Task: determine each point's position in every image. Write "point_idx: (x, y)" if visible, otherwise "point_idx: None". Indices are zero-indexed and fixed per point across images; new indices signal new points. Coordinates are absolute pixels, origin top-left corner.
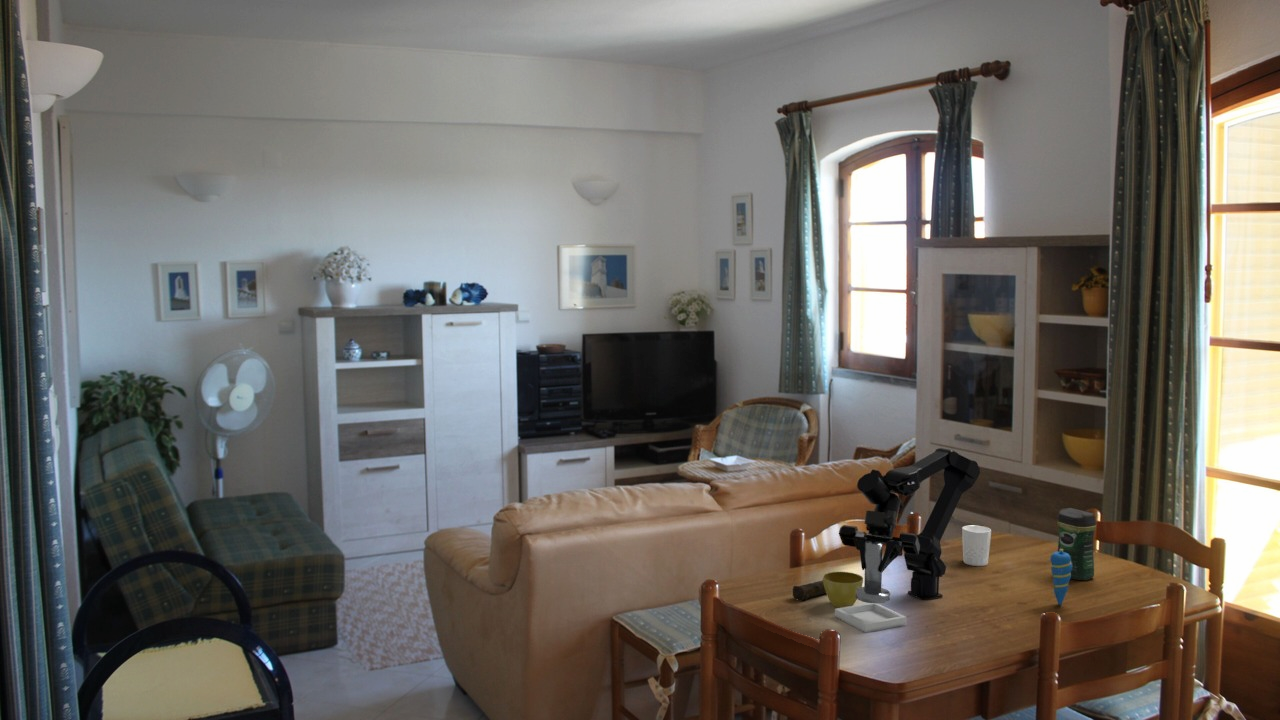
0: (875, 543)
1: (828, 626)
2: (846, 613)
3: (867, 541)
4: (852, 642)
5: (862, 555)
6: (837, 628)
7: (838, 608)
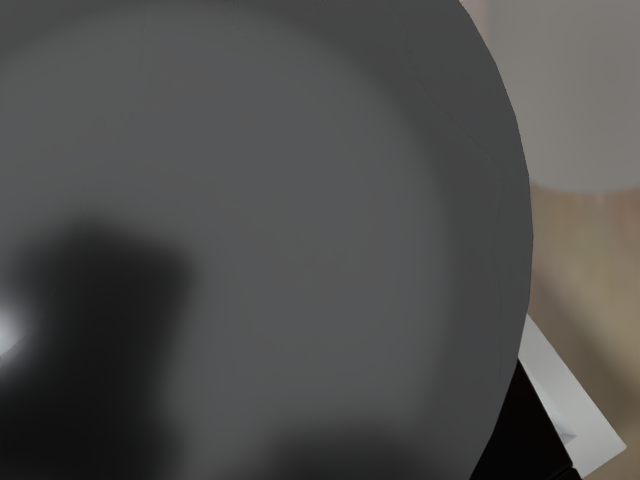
0: (3, 117)
1: (634, 236)
2: (529, 343)
3: (396, 471)
4: (477, 3)
5: (506, 419)
6: (572, 209)
7: (597, 460)
